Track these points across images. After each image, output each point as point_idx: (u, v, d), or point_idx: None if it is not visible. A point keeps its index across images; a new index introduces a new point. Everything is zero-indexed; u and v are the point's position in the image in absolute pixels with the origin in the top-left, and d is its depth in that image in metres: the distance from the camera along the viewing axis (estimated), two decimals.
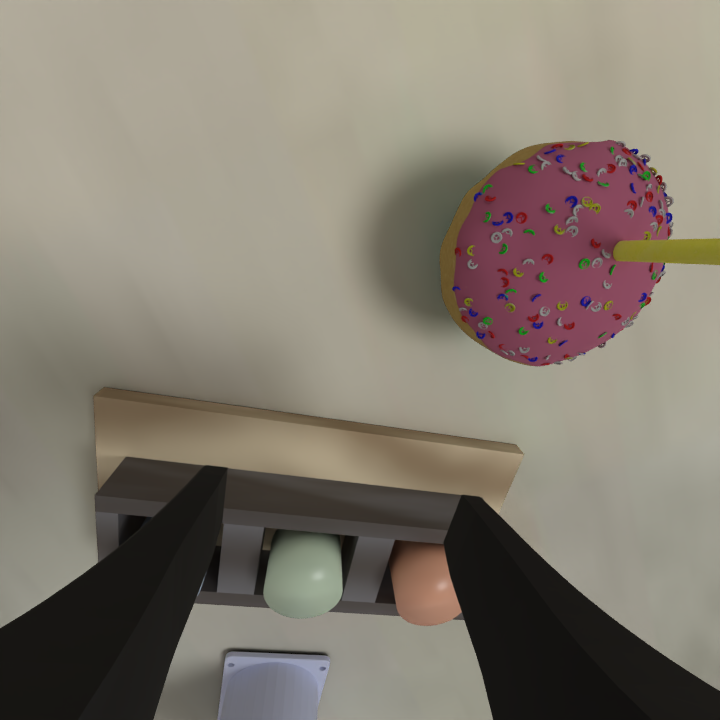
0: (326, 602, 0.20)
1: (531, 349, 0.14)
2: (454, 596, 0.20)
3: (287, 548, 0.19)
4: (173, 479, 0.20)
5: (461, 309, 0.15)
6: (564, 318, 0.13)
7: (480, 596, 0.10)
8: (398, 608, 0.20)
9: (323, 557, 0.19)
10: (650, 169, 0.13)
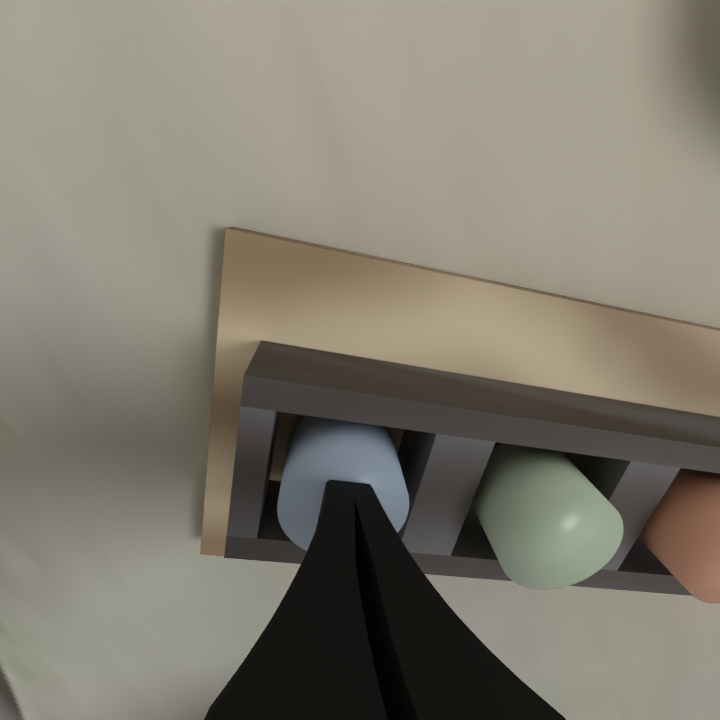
0: (589, 563, 0.12)
1: None
2: None
3: (530, 476, 0.12)
4: (345, 368, 0.12)
5: None
6: None
7: None
8: (689, 574, 0.13)
9: (594, 489, 0.12)
10: None
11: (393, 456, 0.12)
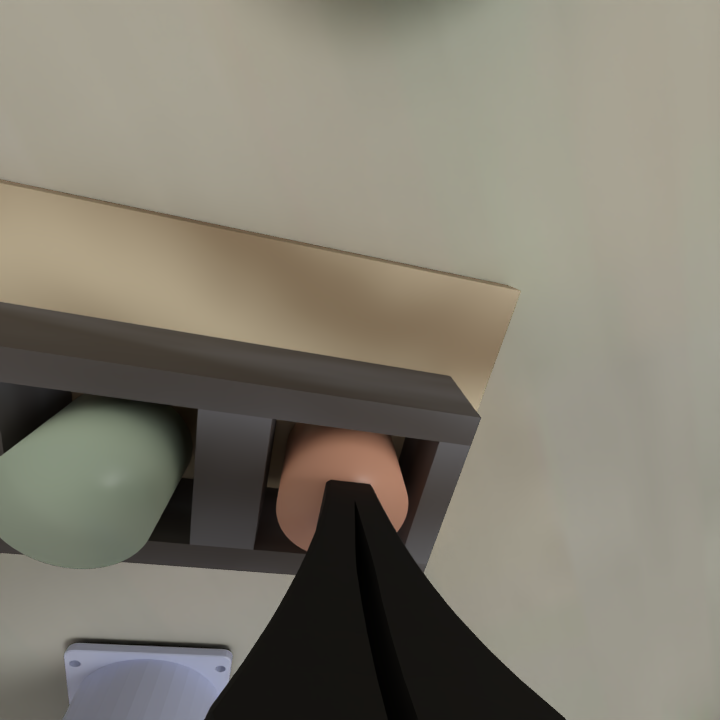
0: (125, 535, 0.10)
1: None
2: (380, 500, 0.11)
3: (44, 425, 0.10)
4: None
5: None
6: None
7: None
8: (281, 522, 0.11)
9: (109, 439, 0.09)
10: None
11: None
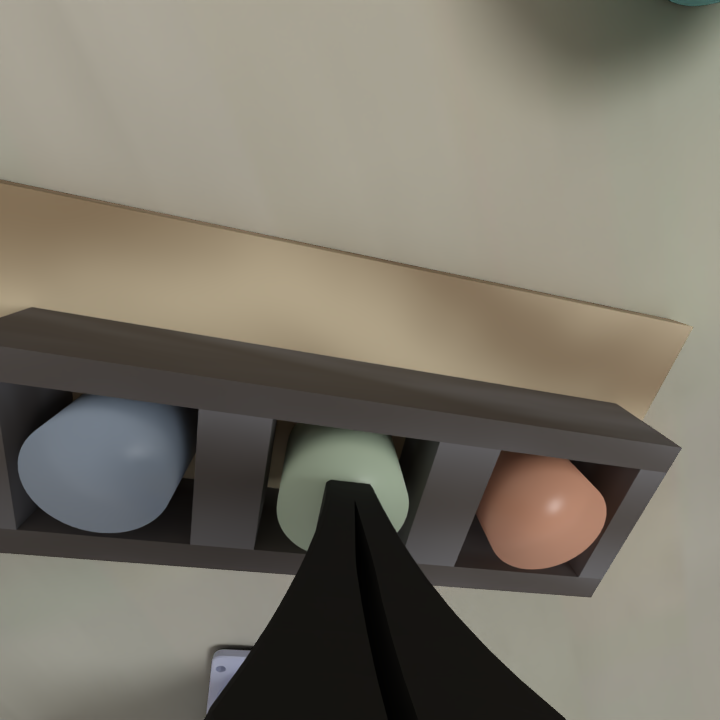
0: None
1: None
2: (582, 518, 0.13)
3: (316, 438, 0.12)
4: (109, 337, 0.11)
5: None
6: None
7: None
8: (492, 538, 0.13)
9: (377, 450, 0.11)
10: None
11: (162, 423, 0.11)
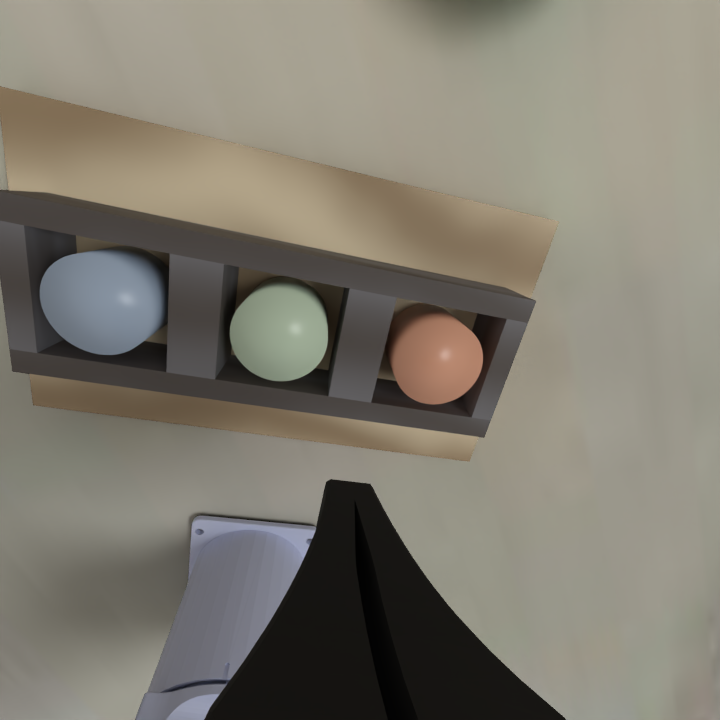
0: (308, 356, 0.16)
1: None
2: (464, 358, 0.17)
3: (260, 288, 0.16)
4: (106, 208, 0.15)
5: None
6: None
7: None
8: (396, 373, 0.17)
9: (304, 294, 0.16)
10: None
11: (144, 271, 0.15)
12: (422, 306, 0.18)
